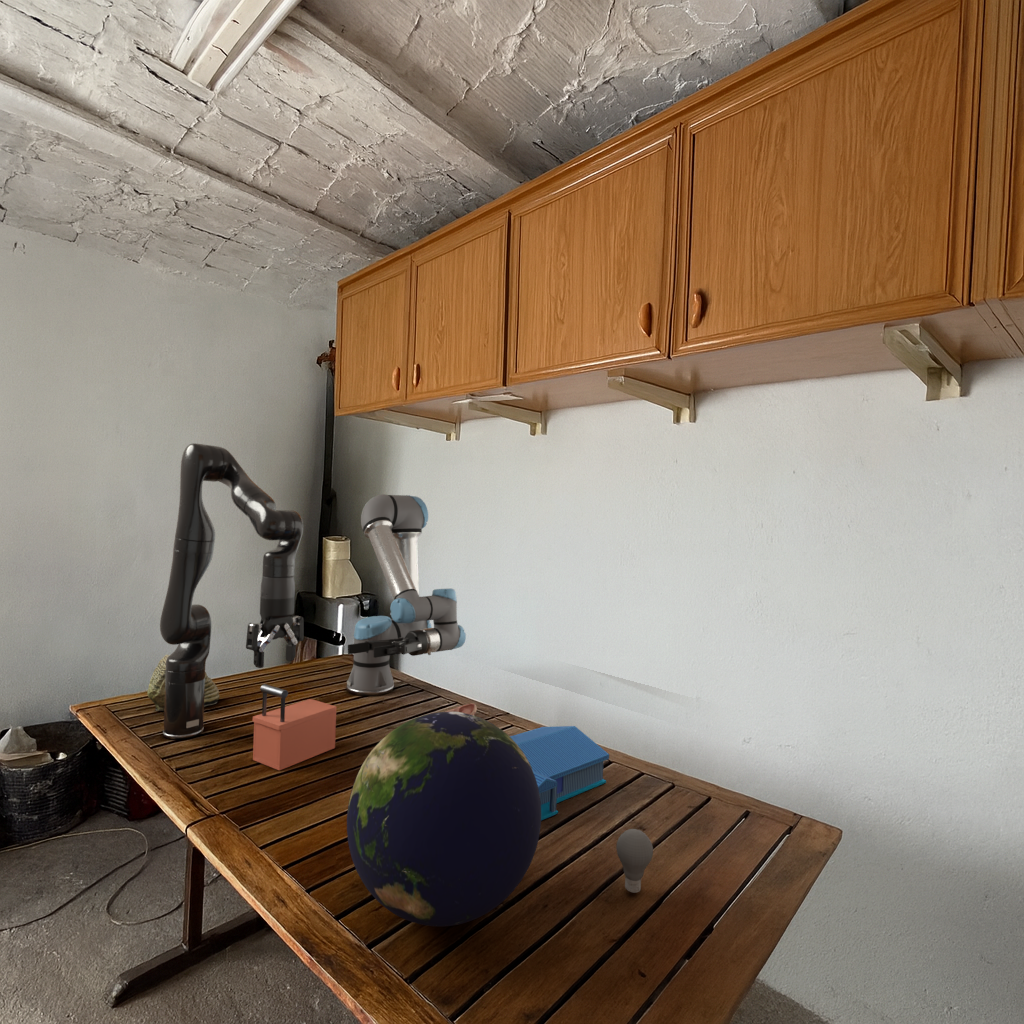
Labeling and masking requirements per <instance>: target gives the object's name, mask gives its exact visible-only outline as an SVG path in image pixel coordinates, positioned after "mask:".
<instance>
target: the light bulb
mask: <svg viewBox="0 0 1024 1024" xmlns="http://www.w3.org/2000/svg"><path fill="white" fill-rule="evenodd" d="M615 849H616V854H617V857H618V859H619V861H620V863H621V865H622V867H623V873H624V874H623V875H624V876H625V878H624V888H625V890H627V891H628V892H630V893H634V894H635V893H639V892H640V891H641V889H642V887H641V886H642V879H643V877H644V875H645V871H646V868H647V867H648V866H649V864H650V863H651V861H652V859H653V855H654V847H653V843H652V841H651V838H649V836H648V835H647V834H646V833H645V832H643V831H642V830H641V829H636V828H629V829H627V830H625V831H623V832H622V833H621V834H620V835H619V837H618V839H617V841H616V847H615Z"/></svg>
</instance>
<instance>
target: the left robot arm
mask: <svg viewBox="0 0 1024 1024" xmlns="http://www.w3.org/2000/svg"><path fill="white" fill-rule="evenodd" d="M179 475H180V478H179V479H180V481H179V502H178V503H179V504H178V513H177V521H176V528H175V534H174V542H173V550H172V561H171V565H170V574H169V579H168V586H167V590H166V594H165V599H164V603H163V607H162V611H161V615H160V619H159V620H160V621H159V631H160V635H161V637H162V639H163V641H164V642H165V643H167V644H168V645H172V646H176V645H177V646H176V647H175V650H173V652H172V653H170V654H169V655H170V656H169V657H168V658H167V660H166V674H165V705H164V710H163V730H162V737H164V738H166V739H169V740H185V739H190V738H191V739H192V738H194V737H197V736H199V735H202V734H203V732H204V730H205V729H204V727H205V725H204V722H205V721H204V718H205V706H204V693H205V672H206V664H207V663H206V662H207V659H208V657H209V654H210V649H211V648H210V647H211V639H212V617H211V614H210V612H209V610H208V609H207V608H206V607H205V606H203V605H201V604H196V603H195V604H194V603H193V601H194V595H195V592H196V590H197V587H198V585H199V583H200V581H201V579H202V578H203V576H204V575H205V573H206V571H207V570H208V567H209V565H210V564H211V562H212V560H213V555H214V550H215V543H216V530H215V527H214V524H213V522H212V520H211V517H210V516H209V514H208V512H207V510H206V507H205V504H204V501H203V483H204V482H212V483H213V482H214V483H216V482H219V483H222V484H223V485H225V486H227V487H228V488H229V489H230V497H231V500H232V502H233V504H234V505H235V507H236V508H237V509H238V510H239V511H240V512H242V514H244V515H245V516H246V517H247V518H248V519H249V521H250V524H251V525H252V527H253V528H254V529H253V530H254V531H255V533H256V534H257V535H258V536H259V537H260V538H261V539H263V540H265V541H278V543H277V545H276V547H275V548H273V549H270V550H267V551H266V552H264V554H263V557H262V569H261V571H262V572H261V573H262V574H261V575H262V576H261V582H260V594H259V595H260V598H259V615H260V621H259V622H256V623H254V622H249V623H247V630H246V641H245V649H247V650H250V651H252V652H253V665H254V667H255V668H258V669H262V668H264V667H265V649H266V647H267V645H269V644H270V643H271V642H272V641H273V640H277V639H284V640H285V642H286V643H287V644H286V645H285V660H286V661H289V662H293V661H295V658H296V655H297V653H296V652H297V645H298V643H299V642H303V641H304V638H305V634H304V633H305V632H304V630H305V627H304V624H305V623H304V617H303V616H301V615H300V616H299V615H294V614H295V596H296V595H295V593H296V592H295V590H296V586H295V585H296V583H295V559H296V557H297V553H298V551H299V547H300V544H301V540H302V537H303V534H304V521H303V518H302V516H301V515H300V513H299V512H298V511H296V510H292V509H291V510H290V509H277V504H276V502H275V500H274V499H273V498H272V497H271V496H270V495H269V494H268V493H267V492H266V491H264V489H262V488H261V487H259V485H257V484H256V483H255V482H254V481H253V480H252V479H251V478H250V476H249V475H248V474H247V473H246V471H245V470H244V469H243V468H242V466H241V465H240V464H239V462H238V461H237V459H236V458H235V456H234V455H233V454H231V452H230V451H229V450H228V449H226V448H224V447H221V446H217V445H211V444H204V443H195V442H194V443H190V444H188V445H187V446H186V447H185V448H184V450H183V452H182V455H181V461H180V474H179ZM291 627H292V628H291Z"/></svg>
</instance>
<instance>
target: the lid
mask: <svg viewBox="0 0 1024 1024" xmlns="http://www.w3.org/2000/svg"><path fill="white" fill-rule="evenodd" d="M259 689H260V690H259V691H260V692H261V693H262V701H261V702H262V703H261V706H262V707H261V708H262V709H261V713H260V714H257V715H254V716H252V722H253V723H254V722H256V723H259V724H262V725H265V726H268V727H270V728H273V729H276V730H282V729H285V728H288V727H291V726H294V725H297V724H300V723H303V722H306V721H308V720H311V719H314V718H317V717H320V716H323V715H326V714H329V713H332V712H335V711H336V712H337V706H336V705H332V704H329V703H326V702H323V701H319V700H315V699H313V698H308V699H305V700H301V701H299V702H296V703H292V704H289V705H286V698H287V697H288V695H289V691H288V690H287V689H283V688H279V687H276V686H274V685H270V684H266V683H263V684H262V685H261V686H260V688H259ZM268 695H270V696H273V697H277V698H280V708H276V709H272V710H270V711H267V706H268V705H267V703H268Z"/></svg>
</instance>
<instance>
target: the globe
mask: <svg viewBox="0 0 1024 1024" xmlns="http://www.w3.org/2000/svg"><path fill="white" fill-rule="evenodd" d="M347 804H348V805H347V811H346V812H347V813H346V835H347V843H348V848H349V853H350V857H351V860H352V863H353V865H354V868H355V870H356V873H357V874H358V876H359V878H360V880H361V882H362V884H363V885H364V886H365V888H366V889H367V891H368V892H369V894H370V895H371V896H372V897H373V898H374V899H375V900H376V901H377V903H379V904H380V905H382V906H383V907H384V909H386V910H387V911H390V912H391V913H392V914H393V915H395V916H397V917H399V918H400V919H403V920H405V921H408V922H411V923H413V924H418V925H421V926H426V927H437V928H438V927H441V928H443V927H453V926H458V925H463V924H466V923H468V922H472V921H474V920H477V919H479V918H481V917H483V916H485V915H487V914H489V913H490V912H491V911H493V910H494V909H495V908H497V907H499V906H500V905H501V904H502V903H503V902H504V901H505V900H507V899H508V897H510V895H511V894H512V893H513V892H514V891H515V889H516V888H517V887H518V886H519V885H520V883H521V882H522V880H523V879H524V878H525V876H526V874H527V872H528V870H529V868H530V866H531V863H532V861H533V859H534V857H535V854H536V852H537V848H538V844H539V839H540V833H541V826H542V821H541V801H540V794H539V789H538V785H537V782H536V778H535V775H534V773H533V770H532V767H531V765H530V763H529V761H528V760H527V758H526V756H525V755H524V753H523V751H522V750H521V749H520V748H519V746H518V745H517V744H516V743H515V742H514V741H513V740H512V739H511V737H510V735H508V733H506V732H505V731H504V730H503V729H501V728H500V727H499V726H497V725H496V724H494V723H493V722H490V721H488V720H486V719H484V718H482V717H479V716H477V715H475V714H474V715H470V714H466V713H461V712H445V711H439V712H432V713H427V714H424V715H420V716H418V717H415V718H412V719H410V720H408V721H406V722H404V723H403V724H401V725H399V726H397V727H395V728H394V729H393V730H392V731H390V732H389V733H388V734H386V735H385V737H383V738H382V739H381V740H380V741H379V742H378V743H377V744H376V745H375V746H374V747H373V748H372V749H371V751H370V752H369V753H368V755H367V757H366V758H365V759H364V761H363V763H362V765H361V766H360V769H359V770H358V773H357V775H356V777H355V779H354V782H353V786H352V788H351V792H350V795H349V800H348V803H347Z"/></svg>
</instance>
